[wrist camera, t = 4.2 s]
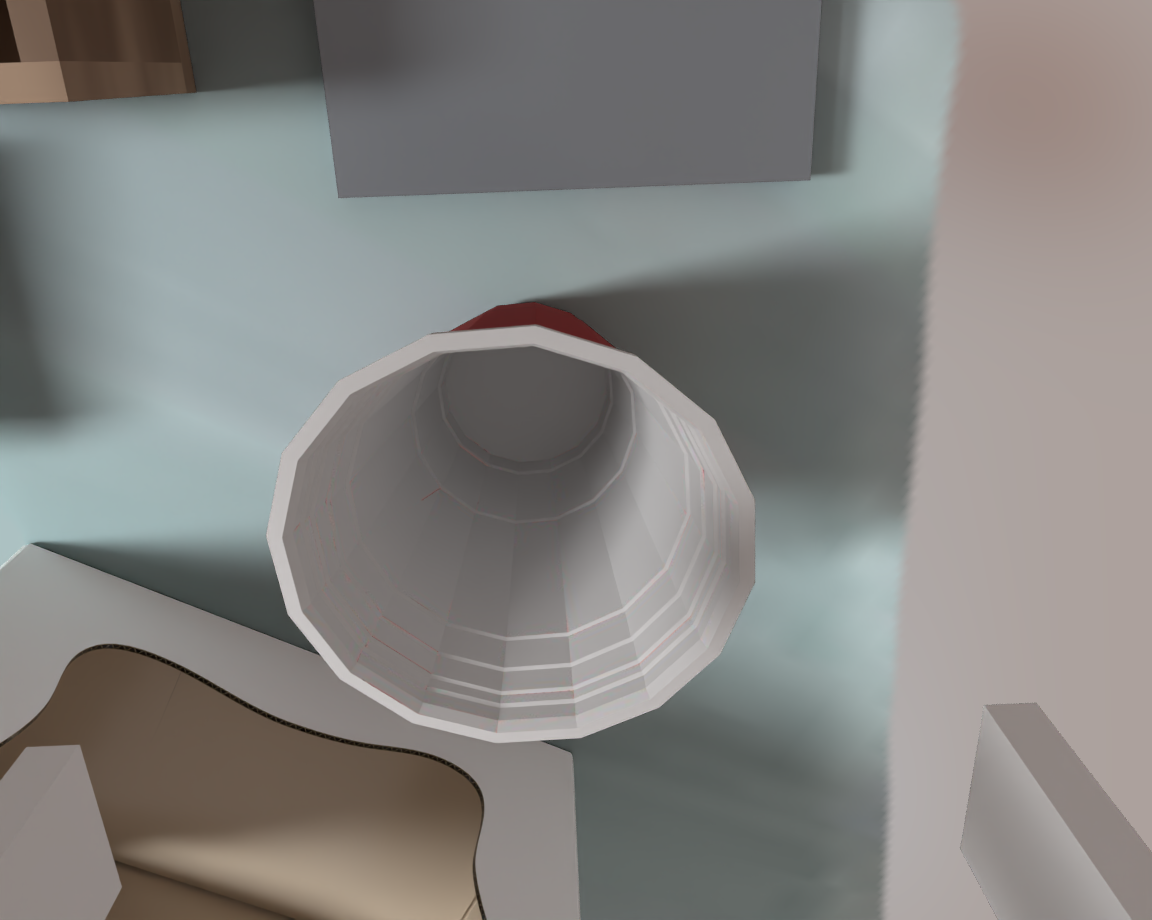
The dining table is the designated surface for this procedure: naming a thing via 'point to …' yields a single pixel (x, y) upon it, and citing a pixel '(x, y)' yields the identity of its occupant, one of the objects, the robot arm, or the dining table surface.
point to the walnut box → (92, 50)
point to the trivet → (566, 93)
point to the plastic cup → (513, 531)
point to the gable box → (269, 768)
